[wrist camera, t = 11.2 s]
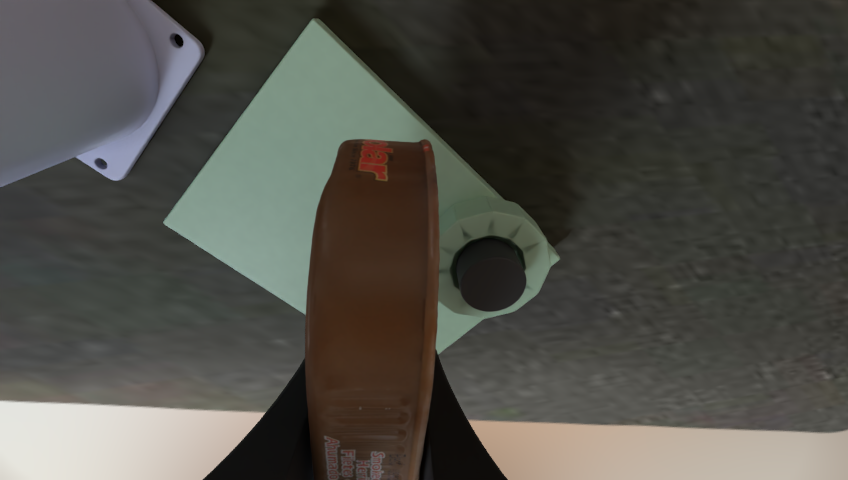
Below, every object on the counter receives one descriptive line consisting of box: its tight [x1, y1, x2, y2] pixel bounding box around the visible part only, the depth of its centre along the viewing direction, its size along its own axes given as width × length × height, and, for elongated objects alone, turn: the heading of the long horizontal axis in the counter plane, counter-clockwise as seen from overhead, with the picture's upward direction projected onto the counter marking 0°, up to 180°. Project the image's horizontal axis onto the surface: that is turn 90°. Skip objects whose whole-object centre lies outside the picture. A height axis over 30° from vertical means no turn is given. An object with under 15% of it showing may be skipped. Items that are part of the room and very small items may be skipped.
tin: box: [305, 139, 440, 480], centre depth 13 cm, size 15×3×8 cm, turn 175°
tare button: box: [456, 239, 526, 312], centre depth 19 cm, size 3×3×2 cm
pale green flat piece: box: [163, 19, 560, 354], centre depth 20 cm, size 16×12×3 cm
